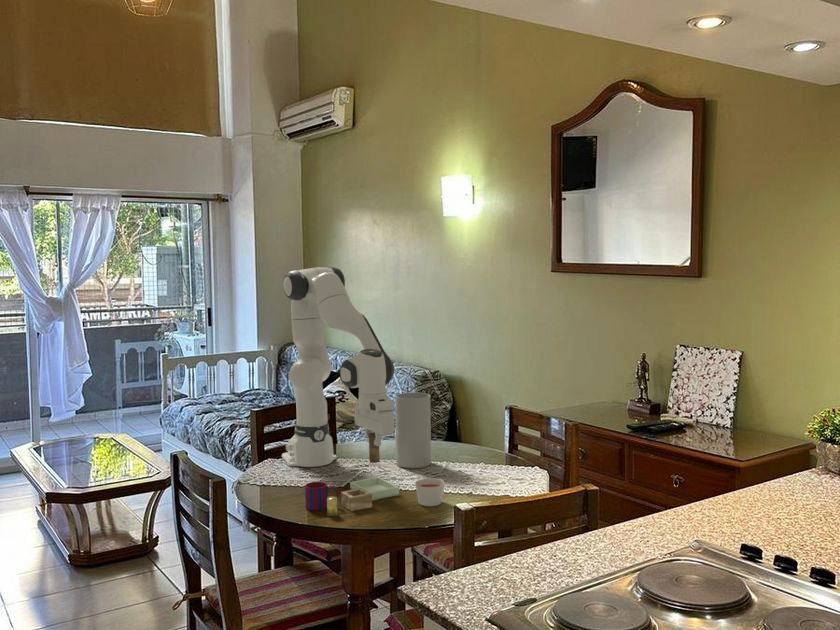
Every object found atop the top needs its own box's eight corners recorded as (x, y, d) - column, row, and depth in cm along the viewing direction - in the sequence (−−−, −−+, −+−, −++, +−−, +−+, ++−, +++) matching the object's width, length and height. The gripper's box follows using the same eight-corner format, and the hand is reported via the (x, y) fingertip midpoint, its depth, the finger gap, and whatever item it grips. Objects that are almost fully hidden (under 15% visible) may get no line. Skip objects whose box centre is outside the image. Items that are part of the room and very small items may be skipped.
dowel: (367, 461, 245) (366, 433, 244) (376, 459, 247) (375, 431, 246) (372, 463, 242) (371, 435, 241) (381, 461, 244) (380, 433, 243)
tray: (350, 489, 248) (350, 482, 248) (378, 484, 254) (378, 476, 253) (370, 500, 237) (369, 493, 237) (399, 494, 242) (399, 487, 242)
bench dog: (325, 514, 225) (325, 497, 225) (334, 512, 227) (334, 495, 226) (329, 517, 223) (329, 500, 222) (339, 515, 224) (338, 498, 224)
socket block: (340, 504, 234) (340, 492, 233) (361, 500, 237) (361, 488, 237) (351, 511, 228) (351, 498, 227) (372, 507, 231) (372, 494, 231)
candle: (422, 509, 229) (422, 488, 228) (410, 500, 237) (410, 480, 236) (449, 505, 232) (449, 484, 232) (437, 496, 240) (437, 476, 240)
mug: (309, 502, 236) (309, 481, 235) (341, 504, 234) (340, 482, 234) (302, 510, 229) (301, 487, 229) (334, 511, 228) (334, 489, 227)
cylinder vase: (420, 471, 268) (419, 400, 266) (389, 466, 275) (388, 397, 273) (437, 462, 279) (436, 394, 277) (407, 457, 285) (406, 391, 283)
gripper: (349, 397, 250) (350, 439, 251) (379, 407, 233) (380, 452, 234) (366, 395, 253) (367, 436, 254) (397, 404, 236) (398, 449, 237)
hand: (374, 444), depth 244 cm, fingers closed on dowel, 3 cm apart
